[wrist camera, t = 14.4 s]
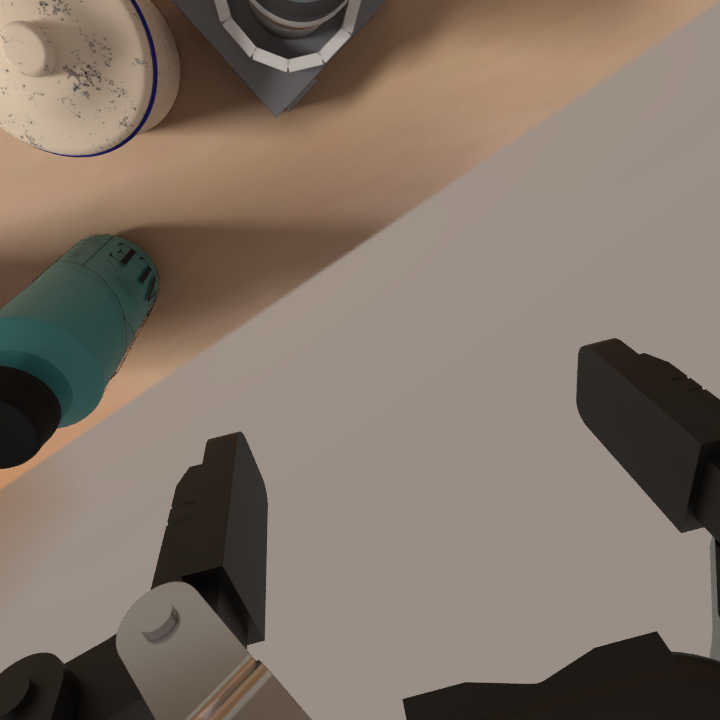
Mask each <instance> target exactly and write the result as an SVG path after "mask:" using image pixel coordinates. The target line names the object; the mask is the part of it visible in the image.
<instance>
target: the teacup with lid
mask: <svg viewBox="0 0 720 720" xmlns="http://www.w3.org/2000/svg"><path fill="white" fill-rule="evenodd" d="M179 84H180V61H179V55H178V50H177V47H176V43H175V40H174V38H173V35H172V33H171V31H170V28H169V26H168V24H167V23H166V21H165V19H164V18H163V16H162V15H161V13H160V12H159V10H158V9H157V8H156V6H155V5H154V4H153V3H152V2H151V1H150V0H0V127H1V128H3V129H4V130H5V131H7V132H8V133H10V134H11V135H13V136H14V137H16V138H18V139H20V140H21V141H23V142H25V143H27V144H29V145H31V146H33V147H35V148H38V149H40V150H43V151H46V152H49V153H53V154H57V155H62V156H69V157H92V156H97V155H102V154H105V153H108V152H111V151H113V150H115V149H118V148H119V147H121V146H123V145H124V144H126V143H127V142H128V141H130V140H131V139H132V138H133V137H134V136H135V135H138V134H140V133H142V132H145V131H147V130H149V129H151V128H153V127H154V126H156V125H157V124H158V123H160V122H161V121H162V120H163V119H164V118H165V116H166V115H167V114H168V113H169V111H170V109H171V108H172V106H173V104H174V102H175V99H176V97H177V93H178V89H179Z"/></svg>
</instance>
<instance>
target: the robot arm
mask: <svg viewBox="0 0 720 720" xmlns="http://www.w3.org/2000/svg"><path fill="white" fill-rule="evenodd" d="M576 396H577V397H576V399H577V400H576V402H577V408H578V411H579V414H580V416H581V418H582V420H583V422H584V423H585V424H586V426H587V427H588V428H589V429H590V430H591V431H592V433H593V434H594V435H595V436H596V437H597V438H598V439H599V441H600V442H601V443H602V444H603V445H604V446H605V447H606V449H607V450H608V451H609V452H610V453H611V454H612V455H613V456H614V458H615V459H616V460H617V461H618V462H619V463H620V464H621V465H622V467H623V468H624V469H625V470H626V471H627V472H628V473H629V475H630V476H631V477H632V478H633V479H634V480H635V481H636V482H637V483H638V485H639V486H640V487H641V488H642V489H643V490H644V491H645V493H646V494H647V495H648V496H649V497H650V498H651V499H652V501H653V502H654V503H655V504H656V505H657V506H658V507H659V508H660V510H661V511H662V512H663V513H664V514H665V515H666V516H667V518H668V519H669V520H670V521H671V522H672V523H673V524H674V525H675V527H676V528H677V529H678V530H679V531H680V532H681V533H683V532H687V531H691V530H695V529H699V528H703V527H705V528H706V529H707V530H708V531H709V532H710V533H711V535H712V539H711V543H710V564H711V593H712V626H713V630H712V631H713V632H712V643H711V650H710V657H709V658H707V657H702V656H699V655H694V654H688V653H681V652H671V651H670V650H669V649H668V647H667V646H666V644H665V643H664V641H663V640H662V638H661V637H660V636H659V634H658V632H652V633H649V634H645V635H641V636H637V637H634V638H630V639H626V640H622V641H619V642H615V643H611V644H608V645H604V646H600V647H596V648H594V649H592V650H591V651H589V652H588V653H587V654H585V655H583V656H582V657H580V658H578V659H577V660H576V661H574V662H572V663H571V664H569V665H568V666H566V667H565V668H563V669H562V670H560V671H558V672H557V673H555V674H554V675H552V676H551V677H549V678H548V679H546V680H545V681H542V682H540V683H537V684H509V683H470V682H468V683H467V682H465V683H461V684H458V685H454V686H450V687H446V688H443V689H439V690H435V691H432V692H428V693H424V694H420V695H416V696H413V697H409V698H405V699H403V704H404V709H405V714H406V720H720V399H718V398H717V397H716V396H714V395H713V394H711V393H710V392H709V391H707V390H703V389H702V386H700V385H699V384H698V383H696V382H695V381H694V380H692V379H691V378H690V379H688V378H687V375H685V374H684V373H683V372H681V371H680V370H679V369H677V368H676V367H675V366H673V365H672V364H670V363H669V362H667V361H664V360H661V359H659V358H656V357H653V356H651V355H648V354H645V353H643V354H638V353H636V352H635V351H634V350H632V349H631V348H630V347H628V346H627V345H626V344H624V343H623V342H622V341H621V340H619V339H616V338H613V339H609V340H605V341H601V342H597V343H593V344H589V345H585V346H583V347H581V348H580V350H579V353H578V371H577V395H576ZM267 513H268V502H267V493H266V488H265V484H264V481H263V478H262V476H261V473H260V471H259V469H258V467H257V464H256V462H255V459H254V457H253V455H252V452H251V450H250V448H249V445H248V443H247V441H246V438H245V436H244V434H243V433H242V432H237V433H233V434H228V435H224V436H221V437H216V438H213V439H209V440H208V441H207V444H206V448H205V453H204V459H203V463H202V464H201V465H196V466H192V467H189V469H188V470H187V472H186V473H185V474H184V476H183V477H182V479H181V480H180V482H179V483H178V485H177V486H176V490H175V494H174V498H173V502H172V509H171V510H170V514H169V518H168V526H166V531H165V534H164V538H163V542H162V546H161V550H160V554H159V559H158V562H157V566H156V571H155V575H154V579H153V583H152V587H151V590H150V591H149V592H147V593H146V594H144V595H143V596H142V597H141V598H139V600H137V601H136V602H135V603H134V604H133V605H132V607H131V608H130V609H129V610H128V612H127V613H126V615H125V616H124V618H123V620H122V621H121V624H120V626H119V628H118V632H117V634H115V635H114V636H112V637H111V638H109V639H108V640H106V641H104V642H102V643H101V644H99V645H97V646H95V647H93V648H92V649H90V650H88V651H86V652H85V653H83V654H82V655H79V656H78V657H76V658H74V659H72V660H71V661H69V662H67V663H65V664H64V663H63V662H62V661H61V660H60V659H59V658H58V657H57V656H55V655H53V654H51V653H37V654H33V655H30V656H27V657H25V658H23V659H21V660H19V661H17V662H15V663H14V664H12V665H11V666H9V667H8V668H7V669H5V670H4V671H3V672H2V673H0V720H311V718H310V717H309V716H308V715H307V714H306V713H305V711H304V710H303V709H302V708H301V707H300V705H298V703H297V702H296V701H295V700H294V698H293V697H292V696H291V695H290V694H289V693H288V692H287V690H286V689H285V688H284V687H283V686H282V685H281V683H280V682H279V681H278V680H277V679H276V677H275V676H274V675H273V674H272V673H271V672H270V671H269V669H268V668H267V667H266V666H265V665H264V664H263V663H262V662H261V661H259V660H258V661H256V660H255V659H254V658H253V657H252V656H251V654H250V653H249V652H248V651H247V645H249V644H253V643H257V642H260V641H264V640H265V600H266V556H267Z"/></svg>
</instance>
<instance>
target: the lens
mask: <svg viewBox="0 0 720 720" xmlns="http://www.w3.org/2000/svg"><path fill="white" fill-rule="evenodd" d="M347 2H348V0H247V3H248V6H249V8H250V10H251V13H252V14H253V16H254V18H255V19H256V20H257V22H258V23H259V24H260V25H261V26H262V27H263V28H264V29H265V30H266V31H267V32H269V33H270V34H272V35H273V36H276V37H278V38H281V39H285V40H297V39H301V38H304V37H306V36H308V35H310V34H311V33H313V32H314V31H315V30H316V29H317V28H318V27H319V26H320V25H321V24H322V23H323V22H325V21H327V20H328V19H330V18H331V17H333V16H334V15H335V14H336V13H337V12H338V11H339V10H340V9H341V8H342V7H344V5H345V4H346V3H347Z"/></svg>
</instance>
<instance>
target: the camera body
mask: <svg viewBox="0 0 720 720" xmlns="http://www.w3.org/2000/svg"><path fill="white" fill-rule="evenodd" d="M172 1H173V2H174V3H175V4H176V5H177V6H178V7H179V9H180V10H181V11H182V12H183V13H184V14H185V15H186V16H187V18H188V19H189V20H190V21H191V22H192V23H193V24H194V26H195V27H196V28H197V29H198V30H199V31H200V32H201V33H202V35H203V36H204V37H205V38H206V39H207V40H208V41H209V42H210V44H211V45H212V46H213V47H214V48H215V49H216V50H217V51H218V53H219V54H220V55H221V56H222V57H223V58H224V59H225V60H226V62H227V63H228V64H229V65H230V66H231V67H232V68H233V70H234V71H235V72H236V73H237V74H238V75H239V76H240V77H241V79H242V80H243V81H244V82H245V83H246V84H247V85H248V86H249V88H250V89H251V90H252V91H253V92H254V93H255V94H256V95H257V97H258V98H259V99H260V100H261V101H262V102H263V103H264V105H265V106H266V107H267V108H268V109H269V110H270V111H271V112H272V114H273V115H274V116H275V117H276V118H277V117H278V115H279V114H280V113H281V112H282V111H283V110H284V109H285V108H287V110H288V111H290V110H291V109H292V108H293V107H294V106H295V105H296V104H297V103H298V101H299V100H300V99H301V98H302V97H303V96H304V95H305V94H306V93H307V92H308V91H309V90H310V89H311V88H312V87H313V86H314V85H315V83H316V82H317V80H316V79H315V78H314V77H315V76H316V75H317V74H318V73H319V72H320V71H321V70H322V69H323V68H324V67H325V65H326V64H327V63H328V62H329V61H330V60H331V59H332V58H333V57H334V56H335V55H336V54H337V53H338V52H339V51H340V50H341V48H342V47H343V46H344V45H345V44H346V43H347V42H348V41H349V40H350V39H351V38H352V37H353V36H354V35H355V34H356V32H357V31H358V30H359V29H360V28H361V27H362V26H363V25H364V24H365V23H366V22H367V21H368V20H369V19H370V18H371V17H372V15H373V14H374V13H375V12H376V11H377V10H378V9H379V8H380V7H381V6H382V5H383V4H384V3H385V2H386V1H387V0H348V2H347V3H346V4H345V5H344V7H342V8H341V9H340V10H339V11H338V12H337V13H336V14H335V15H334V16H333V17H331V18H330V19H328V20H327V21H325V22H323V23H322V24H321V25H320V26H319V27H318V28H317V29H316V30H315V31H314V32H313V33H311V34H310V35H308V36H306V37H304V38H301V39H297V40H285V39H281V38H278V37H276V36H273V35H272V34H270V33H269V32H267V31H266V30H265V29H264V28H263V27H262V26H261V25H260V24H259V23H258V22H257V20H256V19H255V18H254V16H253V14H252V13H251V10H250V8H249V6H248V3H247V0H172Z"/></svg>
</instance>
